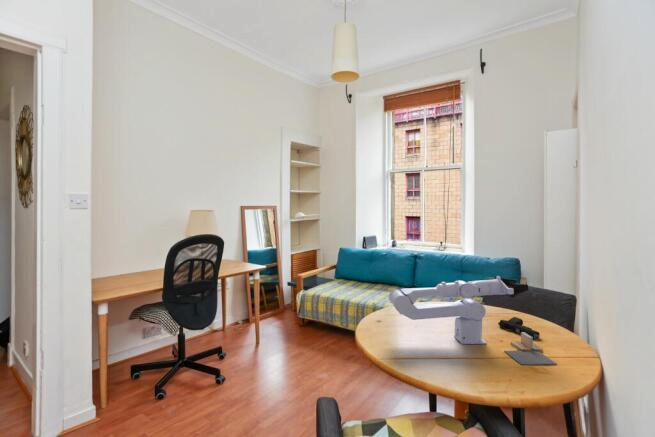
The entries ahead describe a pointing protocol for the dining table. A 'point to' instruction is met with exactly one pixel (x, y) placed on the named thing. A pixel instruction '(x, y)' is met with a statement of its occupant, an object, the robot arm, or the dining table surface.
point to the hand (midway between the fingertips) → (521, 284)
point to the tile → (527, 340)
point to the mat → (530, 358)
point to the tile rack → (524, 348)
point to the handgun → (518, 327)
